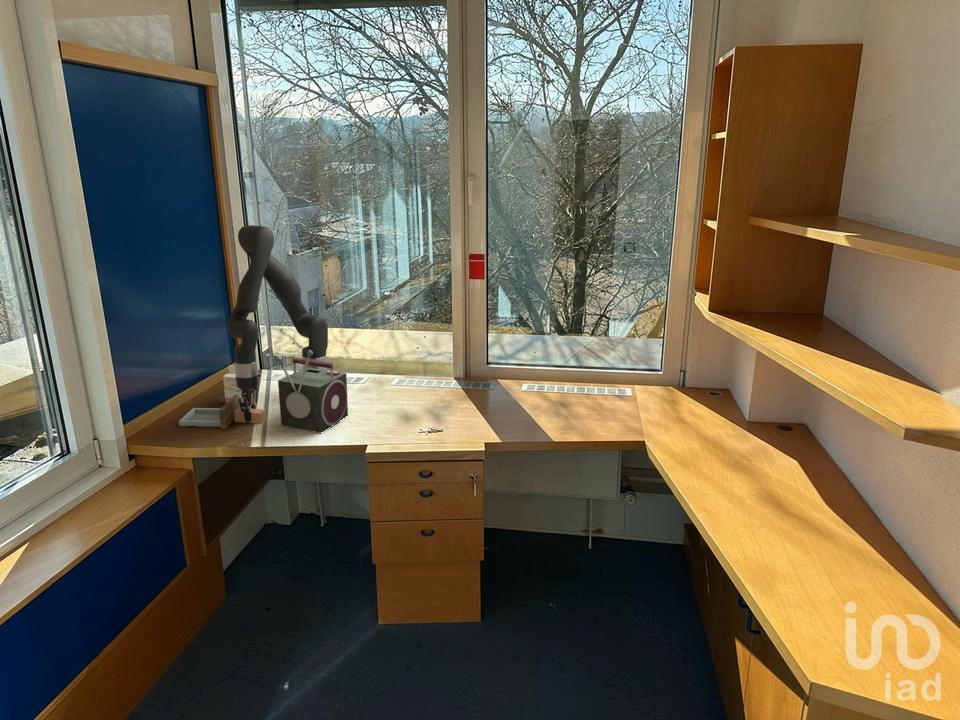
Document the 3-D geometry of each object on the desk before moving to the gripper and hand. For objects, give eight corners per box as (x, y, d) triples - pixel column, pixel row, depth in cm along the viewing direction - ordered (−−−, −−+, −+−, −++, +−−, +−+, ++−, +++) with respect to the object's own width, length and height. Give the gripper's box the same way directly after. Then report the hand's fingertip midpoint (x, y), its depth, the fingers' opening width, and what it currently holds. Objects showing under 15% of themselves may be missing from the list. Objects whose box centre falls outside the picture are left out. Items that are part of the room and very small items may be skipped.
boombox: (351, 415, 246) (348, 338, 237) (319, 436, 228) (314, 352, 219) (310, 408, 252) (305, 332, 244) (275, 427, 234) (269, 346, 225)
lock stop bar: (266, 419, 241) (265, 409, 239) (261, 424, 237) (260, 413, 236) (240, 417, 242) (239, 407, 241) (234, 421, 238) (234, 411, 237)
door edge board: (240, 412, 247) (239, 394, 245) (225, 428, 232) (223, 410, 230) (236, 411, 247) (234, 394, 245) (221, 428, 232) (219, 410, 230)
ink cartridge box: (224, 405, 253) (221, 368, 249) (230, 400, 258) (227, 364, 254) (246, 406, 253) (243, 369, 248) (252, 401, 257) (249, 365, 253)
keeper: (234, 413, 245) (234, 408, 245) (222, 427, 233) (221, 422, 232) (193, 412, 245) (193, 408, 245) (179, 426, 233) (178, 421, 232)
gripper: (250, 380, 227) (254, 426, 232) (263, 367, 241) (266, 411, 246) (229, 379, 227) (233, 426, 232) (242, 367, 241) (246, 411, 246)
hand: (250, 418), depth 239 cm, fingers closed on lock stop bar, 4 cm apart
